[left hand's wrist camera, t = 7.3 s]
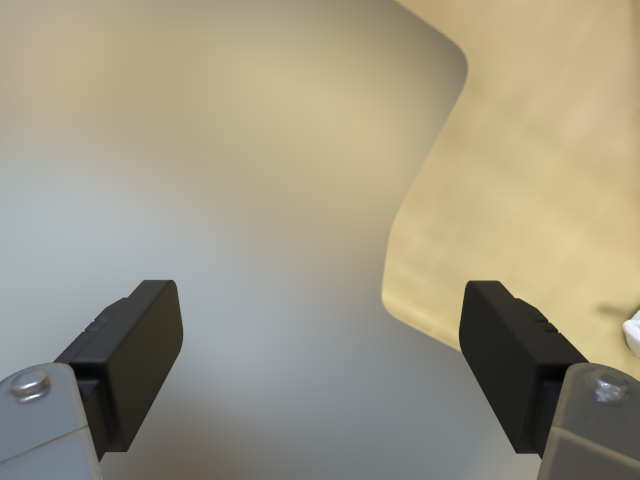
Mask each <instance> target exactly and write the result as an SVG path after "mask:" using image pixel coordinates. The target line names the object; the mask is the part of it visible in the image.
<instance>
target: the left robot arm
mask: <svg viewBox="0 0 640 480" xmlns="http://www.w3.org/2000/svg"><path fill="white" fill-rule="evenodd" d="M182 342H183V326H182V319H181V312H180V305H179V298H178V291H177V286H176V284H175V282H174V281H173V280H144V281H143V282H141V284H140V285H139V286H138V287H137V288H136V289H135V290H134V291H133V292H132V293H131V295H130V296H129V297H128V298H122V299H120V300H119V301H117V302H115V303H113V304H111V305H110V306H108V307H106V308H105V309H104V310H103V311H102V312H101V313H100V314H99V315H98V316H97V317H96V318H95V321H94V322H92V323H91V324H90V325H89V326H88V327H87V328H86V329H85V332H82V333H81V334H80V335H79V336H78V337H77V338H76V339H75V340H74V341H73V342H72V343H71V344H70V345H69V346H68V347H67V348H66V349H65V350H64V351H63V353H61V355H60V356H59V357H58V358H57V359H56V360H55V361H54V362H53V363H44V364H39V365H35V366H32V367H28V368H26V369H23V370H21V371H18V372H16V373H14V374H12V375H10V376H9V377H7V378H5V379H4V380H2V381H1V382H0V480H103V477H102V473H101V469H100V466H99V462H100V460H101V459H102V457H103V455H104V454H105V452H127V451H128V449H129V447H130V445H131V443H132V441H133V439H134V438H135V436H136V434H137V432H138V430H139V428H140V426H141V424H142V422H143V421H144V419H145V417H146V415H147V413H148V411H149V409H150V407H151V405H152V404H153V402H154V400H155V398H156V396H157V394H158V392H159V390H160V388H161V387H162V385H163V383H164V381H165V379H166V377H167V375H168V373H169V371H170V370H171V368H172V366H173V364H174V362H175V360H176V358H177V356H178V354H179V352H180V350H181V347H182ZM459 342H460V347H461V350H462V353H463V355H464V357H465V359H466V361H467V362H468V364H469V366H470V368H471V370H472V372H473V374H474V375H475V377H476V379H477V381H478V383H479V385H480V387H481V388H482V390H483V392H484V394H485V396H486V398H487V400H488V402H489V403H490V405H491V407H492V409H493V411H494V413H495V415H496V417H497V418H498V420H499V422H500V424H501V426H502V428H503V430H504V431H505V433H506V435H507V437H508V439H509V441H510V443H511V444H512V446H513V448H514V450H515V452H516V453H517V454H539V456H540V458H541V459H542V462H541V466H540V469H539V473H538V477H537V480H640V382H639V381H638V380H636V379H635V378H633V377H631V376H630V375H628V374H626V373H624V372H622V371H619V370H617V369H614V368H612V367H609V366H605V365H601V364H596V363H590V362H589V361H588V360H587V359H586V358H585V357H584V356H583V355H582V354H581V353H580V352H579V351H578V350H577V349H576V348H575V347H574V346H573V345H572V344H571V343H570V342H569V341H568V340H567V339H566V338H565V337H564V336H563V335H562V334H561V333H558V330H557V329H556V328H555V327H554V326H553V325H552V324H551V323H549V322H548V319H547V318H546V317H545V316H544V315H543V314H542V313H541V312H540V311H539V310H538V309H537V308H535V307H533V306H532V305H530V304H528V303H526V302H525V301H523V300H521V299H519V298H514V297H513V296H512V295H511V293H510V292H509V291H508V290H507V289H506V288H505V287H504V286H503V285H502V284H501V283H500V282H499V281H469V282H468V283H467V285H466V288H465V293H464V300H463V307H462V314H461V321H460V327H459Z"/></svg>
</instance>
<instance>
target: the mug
mask: <svg viewBox="0 0 640 480" xmlns="http://www.w3.org/2000/svg"><path fill="white" fill-rule="evenodd" d="M623 331H624V333H625V334H626V340H627V343H628V346H629V347H630V349H631V350H632V351H633V353H634V354H635V355H636V356H637V357H639V358H640V310H639V311H637V313H636V314H635V315H634V316H633V317H632V319H631V320H627V321H625V322H624V323H623Z"/></svg>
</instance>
